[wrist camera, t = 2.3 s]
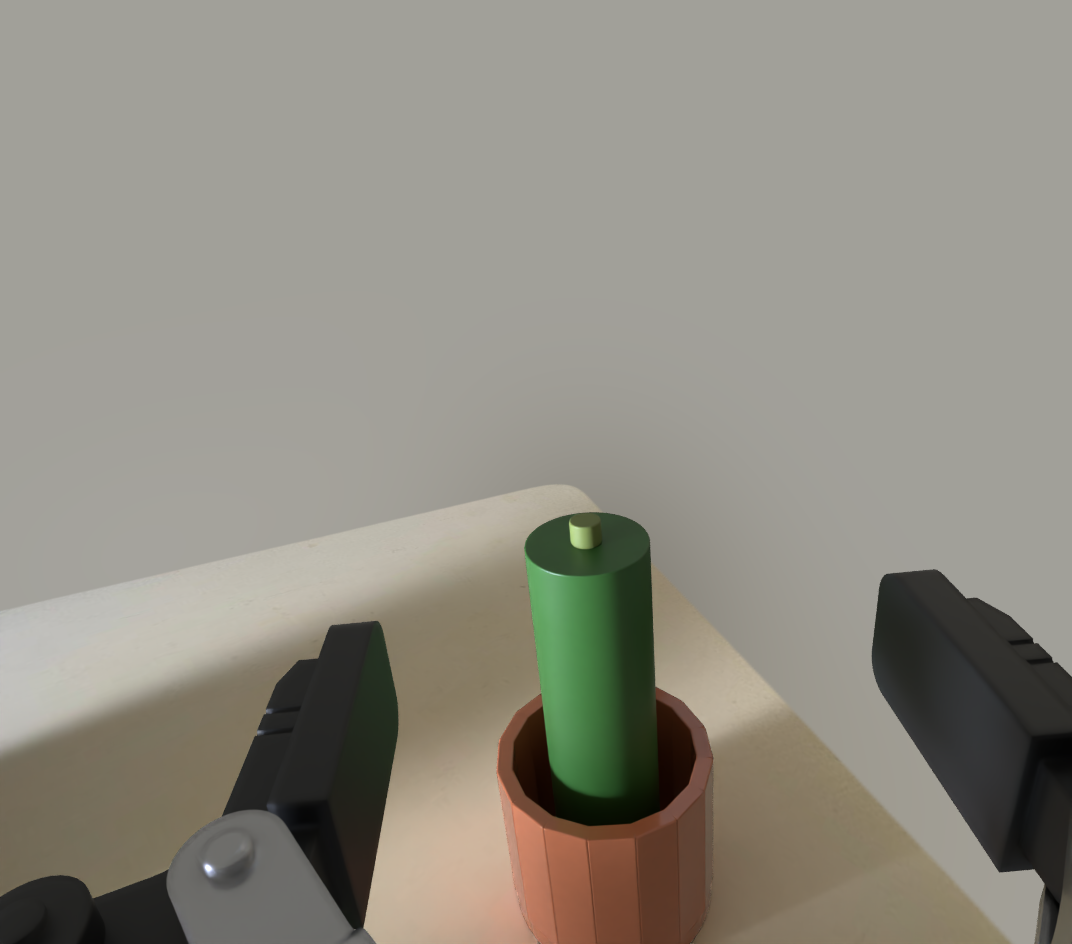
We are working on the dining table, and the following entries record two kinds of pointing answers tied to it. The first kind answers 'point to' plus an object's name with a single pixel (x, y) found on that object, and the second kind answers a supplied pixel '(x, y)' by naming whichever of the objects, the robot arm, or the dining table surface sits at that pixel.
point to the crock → (611, 841)
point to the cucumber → (596, 665)
